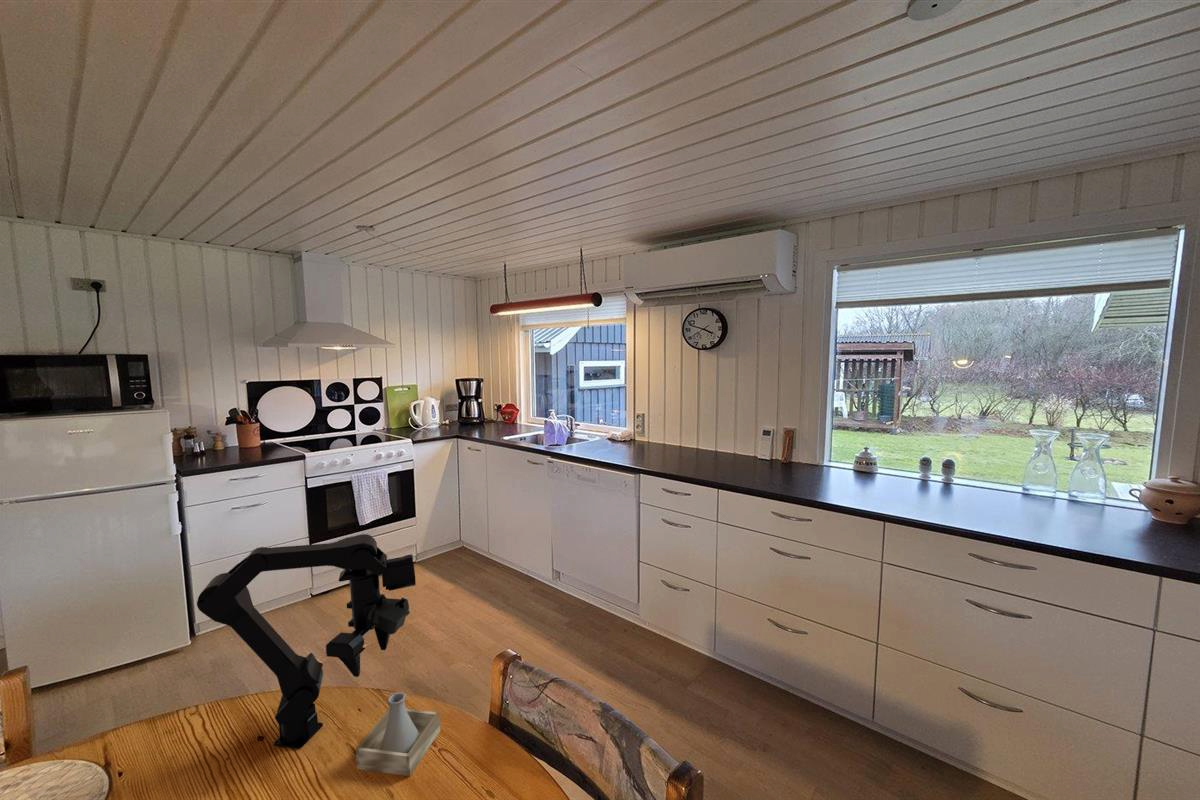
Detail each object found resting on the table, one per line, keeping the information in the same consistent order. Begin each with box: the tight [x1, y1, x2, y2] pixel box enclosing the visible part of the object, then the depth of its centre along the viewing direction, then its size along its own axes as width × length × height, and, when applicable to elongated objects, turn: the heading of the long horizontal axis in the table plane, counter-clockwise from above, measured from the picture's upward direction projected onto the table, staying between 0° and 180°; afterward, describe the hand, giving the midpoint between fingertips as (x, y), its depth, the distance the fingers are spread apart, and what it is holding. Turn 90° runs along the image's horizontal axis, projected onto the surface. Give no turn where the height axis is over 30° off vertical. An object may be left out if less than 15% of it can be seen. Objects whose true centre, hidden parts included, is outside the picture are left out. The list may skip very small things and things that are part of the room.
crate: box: [355, 708, 441, 777], centre depth 96 cm, size 11×11×4 cm
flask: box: [380, 691, 420, 753], centre depth 96 cm, size 7×7×10 cm
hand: (370, 662), depth 105 cm, fingers open, 9 cm apart
